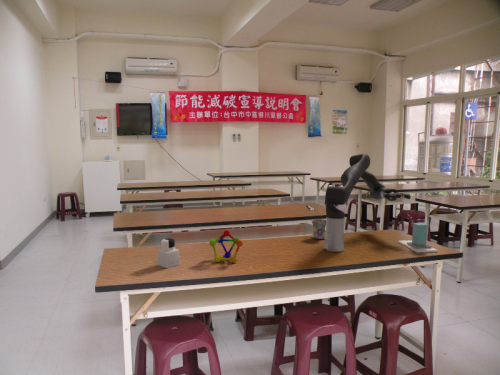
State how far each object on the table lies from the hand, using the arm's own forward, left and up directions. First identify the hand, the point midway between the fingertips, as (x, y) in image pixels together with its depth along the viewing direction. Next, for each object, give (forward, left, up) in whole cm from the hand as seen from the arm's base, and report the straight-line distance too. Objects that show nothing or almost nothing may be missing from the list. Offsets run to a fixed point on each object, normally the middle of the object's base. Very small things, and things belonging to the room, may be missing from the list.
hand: (402, 197), depth 196 cm
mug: (-45, +13, -26) cm, 53 cm away
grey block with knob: (-126, -32, -26) cm, 132 cm away
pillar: (+3, -13, -25) cm, 28 cm away
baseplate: (+3, -11, -26) cm, 28 cm away
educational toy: (-100, -26, -26) cm, 106 cm away
